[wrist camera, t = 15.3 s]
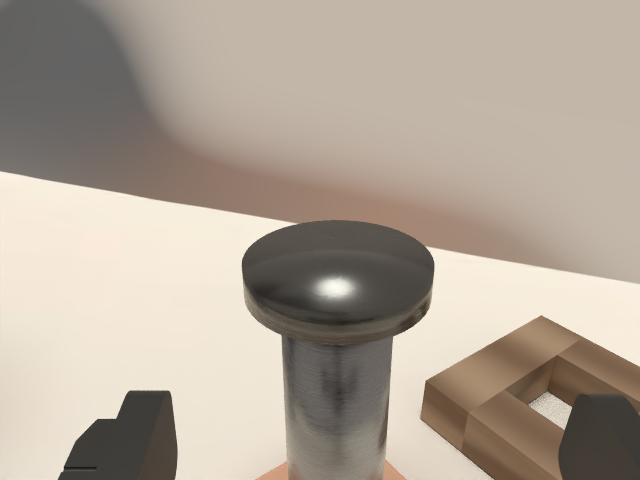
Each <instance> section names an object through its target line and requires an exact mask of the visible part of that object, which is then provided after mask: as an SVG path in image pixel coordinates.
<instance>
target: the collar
mask: <svg viewBox="0 0 640 480" xmlns="http://www.w3.org/2000/svg"><path fill="white" fill-rule="evenodd" d="M546 391H548V392H550V393H552V394H553V395H555V396H556V397H558V398H560V399H561V400H563V401H564V402H566V403H568V404H569V405H571V406H572V407H573V404H574V401H575V399H576V398H577V396H578V395H580V394H621V395H623V396H624V397H626V398H627V399H628V401H629V402H630V403H631V404H632V406H633V407H634V408H635V410H636V411H637V412H638V414H639V415H640V367H639V366H637V365H635V364H633V363H631V362H629V361H627V360H626V359H624V358H622V357H620V356H618V355H616V354H614V353H612V352H610V351H608V350H606V349H605V348H603V347H601V346H599V345H597V344H595V343H593V342H591V341H589V340H587V339H585V338H584V337H582V336H580V335H578V334H576V333H574V332H572V331H570V330H568V329H566V328H564V327H563V326H561V325H559V324H557V323H555V322H553V321H551V320H549V319H547V318H545V317H543V316H542V315H541V316H539V317H538V318H536V319H534V320H532V321H531V322H529V323H527V324H525V325H523V326H522V327H520V328H518V329H516V330H515V331H513V332H511V333H509V334H508V335H506V336H504V337H502V338H500V339H499V340H497V341H495V342H493V343H492V344H490V345H488V346H486V347H485V348H483V349H481V350H479V351H478V352H476V353H474V354H472V355H470V356H469V357H467V358H465V359H463V360H462V361H460V362H458V363H456V364H455V365H453V366H451V367H449V368H447V369H446V370H444V371H442V372H440V373H439V374H437V375H435V376H433V377H432V378H430V379H428V380H426V383H425V390H424V397H423V404H422V411H421V418H420V419H422V420H423V421H424V422H425V423H427V424H428V425H429V426H430V427H431V428H433V429H434V430H435V431H436V432H438V433H439V434H440V435H441V436H442V437H444V438H445V439H446V440H447V441H448V442H450V443H451V444H452V445H453V446H455V447H456V448H457V449H458V450H459V451H461V452H462V453H463V454H464V455H465V456H467V457H468V458H469V459H470V460H472V461H473V462H474V463H475V464H476V465H478V466H479V467H480V468H481V469H483V470H484V471H485V472H486V473H487V474H489V475H490V476H491V477H492V478H493V479H495V480H563V479H562V476H561V472H560V468H559V462H558V452H559V446H560V443H561V440H562V437H563V434H564V431H565V430H563V429H562V428H560V427H559V426H557V425H556V424H554V423H553V422H551V421H550V420H548V419H547V418H546V417H544V416H543V415H541V414H540V413H538V412H537V411H535V410H534V409H532V408H531V407H529V406H528V404H529V403H531V402H532V401H533V400H535V399H536V398H538V397H539V396H540V395H542V394H543V393H545V392H546Z"/></svg>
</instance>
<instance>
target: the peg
mask: <svg viewBox="0 0 640 480" xmlns="http://www.w3.org/2000/svg"><path fill="white" fill-rule="evenodd" d="M242 274H243V287H244V298H245V303H246V306H247V308H248V310H249V312H250V313H251V314H252V316H253V317H254V318H255V319H256V320H257V321H258V322H260V323H261V324H262V325H264V326H265V327H267V328H269V329H270V330H272V331H274V332H276V333H278V334H281V335H282V357H283V379H284V401H285V423H286V445H287V467H288V480H384V470H385V454H386V439H387V423H388V407H389V391H390V375H391V359H392V343H393V336H395V335H398V334H400V333H402V332H404V331H406V330H408V329H409V328H411V327H413V326H414V325H415V324H417V323H418V322H419V321H420V320H421V319H422V318H423V317H424V316H425V315H426V313H427V311H428V309H429V307H430V304H431V298H432V288H433V277H434V260H433V257H432V255H431V254H430V252H429V251H428V250H427V248H426V247H425V246H424V245H422V244H421V243H420V242H419V241H417V240H416V239H414V238H413V237H411V236H409V235H407V234H405V233H402V232H400V231H398V230H395V229H392V228H389V227H385V226H381V225H377V224H371V223H365V222H358V221H344V220H330V221H315V222H308V223H302V224H296V225H292V226H288V227H285V228H282V229H279V230H276V231H274V232H271V233H269V234H267V235H265V236H263V237H262V238H260V239H259V240H257V241H256V242H254V243H253V244H252V245H251V246H250V247H249V248H248V250H247V251H246V252H245V254H244V257H243V259H242Z"/></svg>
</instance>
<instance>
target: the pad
mask: <svg viewBox="0 0 640 480" xmlns="http://www.w3.org/2000/svg"><path fill="white" fill-rule="evenodd" d="M255 480H288V467H287V462H285V463H284V464H282V465H280V466H278V467H277V468H275V469H273V470H271V471H270V472H268V473H266V474H264V475H262V476H261V477H259V478H257V479H255ZM384 480H406V479H405V478H404V477H403V476H402V475H401V474H400V473H399V472H398V471H397V470H396V469H395V468H394V467H393V466H391V465H390V464H389V463H388V462H387V461H386V460H385V470H384Z"/></svg>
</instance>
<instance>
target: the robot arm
mask: <svg viewBox="0 0 640 480" xmlns="http://www.w3.org/2000/svg"><path fill="white" fill-rule="evenodd" d="M558 462H559V468H560V472H561V476H562V479H563V480H640V415H639V414H638V412H637V411H636V410H635V408H634V407H633V406H632V404H631V403H630V402H629V401H628V399H627V398H626V397H624V396H623V395H621V394H580V395H578V396H577V398H576V399H575V401H574V404H573V407H572V410H571V413H570V416H569V419H568V422H567V425H566V428H565V431H564V434H563V437H562V440H561V443H560V446H559V452H558ZM176 468H177V440H176V431H175V423H174V414H173V406H172V398H171V393H170V392H169V391H129V392H128V393H127V394H126V396H125V399H124V401H123V404H122V406H121V408H120V411H119V413H118V416H117V418H116V419H97V420H96V421H95V422H94V423H93V424H92V425H91V426H90V427H89V428H88V429H87V430H86V431H85V432H84V433H83V434H82V435H81V436H80V437H79V438H78V439H77V440H76V442H75V444H74V446H73V448H72V450H71V452H70V455H69V457H68V459H67V461H66V463H65V465H64V471H63V472H61V474H60V476H59V478H58V480H175V476H176Z"/></svg>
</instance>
